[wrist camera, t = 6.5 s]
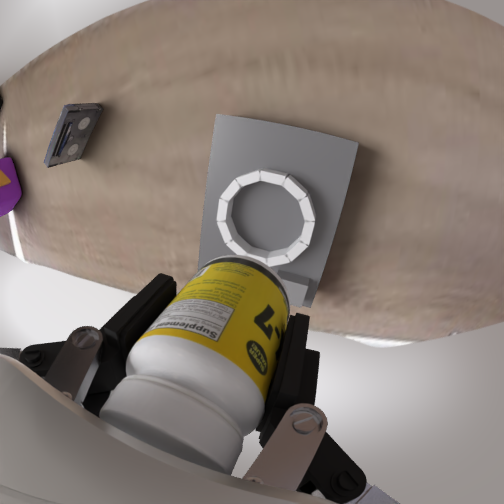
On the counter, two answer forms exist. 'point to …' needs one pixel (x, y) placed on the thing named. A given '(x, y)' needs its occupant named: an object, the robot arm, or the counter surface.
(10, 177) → the toy camera
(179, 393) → the supplement bottle
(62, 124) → the mini dv tape
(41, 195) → the counter surface
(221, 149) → the grey ring holder base
